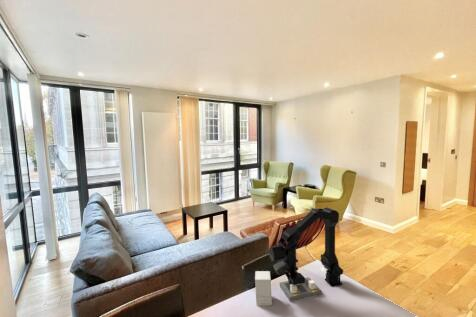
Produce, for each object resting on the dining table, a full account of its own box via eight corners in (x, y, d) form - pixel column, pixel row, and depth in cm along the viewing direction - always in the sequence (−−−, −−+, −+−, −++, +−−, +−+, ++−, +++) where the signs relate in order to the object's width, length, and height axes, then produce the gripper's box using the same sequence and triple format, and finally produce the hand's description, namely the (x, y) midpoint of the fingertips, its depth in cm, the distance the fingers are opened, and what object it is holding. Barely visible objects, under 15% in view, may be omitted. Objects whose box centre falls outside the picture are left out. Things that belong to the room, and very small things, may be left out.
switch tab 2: (312, 286, 116) (312, 279, 116) (315, 288, 114) (315, 282, 114) (308, 286, 116) (308, 280, 115) (311, 289, 113) (310, 283, 113)
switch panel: (308, 280, 124) (308, 276, 124) (321, 294, 113) (321, 290, 113) (279, 286, 121) (279, 282, 121) (289, 301, 109) (289, 297, 109)
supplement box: (271, 295, 114) (270, 270, 113) (271, 306, 106) (271, 279, 106) (256, 295, 114) (255, 270, 114) (255, 305, 107) (254, 279, 106)
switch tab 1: (294, 289, 114) (294, 283, 114) (296, 292, 112) (296, 286, 111) (290, 290, 113) (290, 284, 113) (292, 293, 111) (292, 287, 111)
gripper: (268, 250, 121) (269, 278, 122) (282, 269, 103) (283, 302, 104) (287, 247, 124) (288, 275, 125) (305, 265, 105) (306, 297, 107)
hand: (291, 286), depth 115 cm, fingers closed
